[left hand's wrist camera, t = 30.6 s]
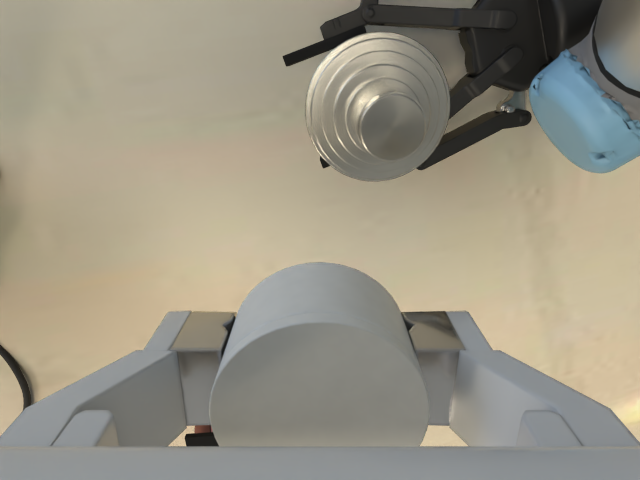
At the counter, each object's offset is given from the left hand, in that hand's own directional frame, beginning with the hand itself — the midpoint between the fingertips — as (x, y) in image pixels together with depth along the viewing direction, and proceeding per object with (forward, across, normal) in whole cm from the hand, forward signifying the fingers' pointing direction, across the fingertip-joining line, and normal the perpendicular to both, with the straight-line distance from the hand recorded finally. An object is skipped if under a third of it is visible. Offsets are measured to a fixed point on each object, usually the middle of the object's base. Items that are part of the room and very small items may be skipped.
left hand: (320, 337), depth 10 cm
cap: (-2, 0, 0) cm, 2 cm away
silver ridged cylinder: (+35, +3, +4) cm, 36 cm away
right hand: (+29, -1, +3) cm, 29 cm away
